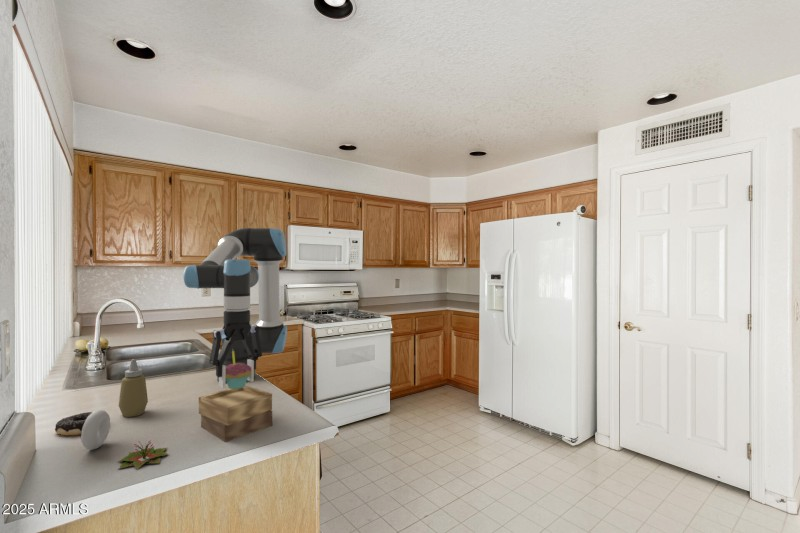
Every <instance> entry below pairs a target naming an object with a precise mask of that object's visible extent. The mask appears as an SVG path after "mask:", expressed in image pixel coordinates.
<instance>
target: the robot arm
mask: <svg viewBox="0 0 800 533" xmlns="http://www.w3.org/2000/svg"><path fill="white" fill-rule="evenodd" d="M242 256H247V257H248V256H249V257H253V261H254V262H255V263H256V264H257V268H256V267H254V266H253V265H251V262H250V260H249V259H237V258H239V257H242ZM286 256H287V241H286V237H285V234H284V232H283V230H282V229H280V228H272V227H270V228H266V227H265V228H263V227H259V228H258V227H257V228H256V227H255V228H254V227H253V228H251V227H243V228H237V229H236V230H233V231H230V232H228V233H227V234H225V235H224V236H223V237H221V239H220V240H219V241H218V243H217V247H215V249H213V250H212V251H211V252H210V253H209V254H208V256H207V257H206V258H204V260H202V262H201V263H200V264H189V265H187V266H185V268H184V269H183V270H184V271H183V275H182V276H183V277H182V278H183V283H184V285H185V287H187V288H190V289H223V309H224V311H223V327H222V329H218V330H213V331H212V337H213V340H212V346H211V350H210V356H209V362H208V363H209V364H210V365H212V366H215V376H216V380H217V382H218V387H219V388H221V389H226V385H227V382H226V366H228V365H229V364H233V358H232V349H233V351H234V354H235V363H245V364H246V365H248V366H250V367H251V371H252V372H251V375H249V377H248V379H247V381H246V382H250V383H251V382H252V383H253V382H254V381H255V379H254V378H256V371H255V370H257V361H258V360H259V358H261V357H262V356H263V354H280V353H283V351H284V350H285V347H286V342H287V339H288V338H287V337H288V326H287V325H284V320H282V319H281V316H280V312H281V310H280V309H281V307H280V306H281V305H280V300H281V299H280V264H281V263H282V262H283V260H284V257H286ZM257 284H258V285H257ZM256 285H257V286H258V288H257V290H258V319H257V321H256V322H255V323H254V325H252V324H251V310H250V308H251V288H253V287H254V286H256Z"/></svg>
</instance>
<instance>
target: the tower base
mask: <svg viewBox="0 0 800 533" xmlns="http://www.w3.org/2000/svg"><path fill="white" fill-rule="evenodd" d="M272 426H273V409H272V410H269V411H267V412H264V413H261V414H258V415H256V416H253V417H250V418H247V419H245V420H242V421H239V422H236V423H234V424H231V425H228V426H227V425H225V424H223V423H220V422H218V421H215V420H213V419H210V418H208V417H206V416H203V415H201V414H200V428H201V429H203V430H205V431H206V432H208V433H210V434H211V435H213V436H215V437H216V438H217V439H219V440H220V441H222V442H224V443H225V442H228V441H231V440H234V439H237V438H240V437H242V436H245V435H246V436H247V435H248V434H251V433H254V432H256V431H257V432H258V431H259V430H263V429H266V428H268V427H272Z"/></svg>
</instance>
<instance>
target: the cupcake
mask: <svg viewBox="0 0 800 533" xmlns="http://www.w3.org/2000/svg"><path fill="white" fill-rule="evenodd" d="M232 358H233V364H229V365H228V366H226V382H227V383H226V385H227V389H239V388H242V387H244V386H245V385H246V383H247V382H248V381H247V379H248V377H249V375H251V372H252V371H251V367H250V366H248V365H246V364H245V363H235V354H234V351H233V349H232Z"/></svg>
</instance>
